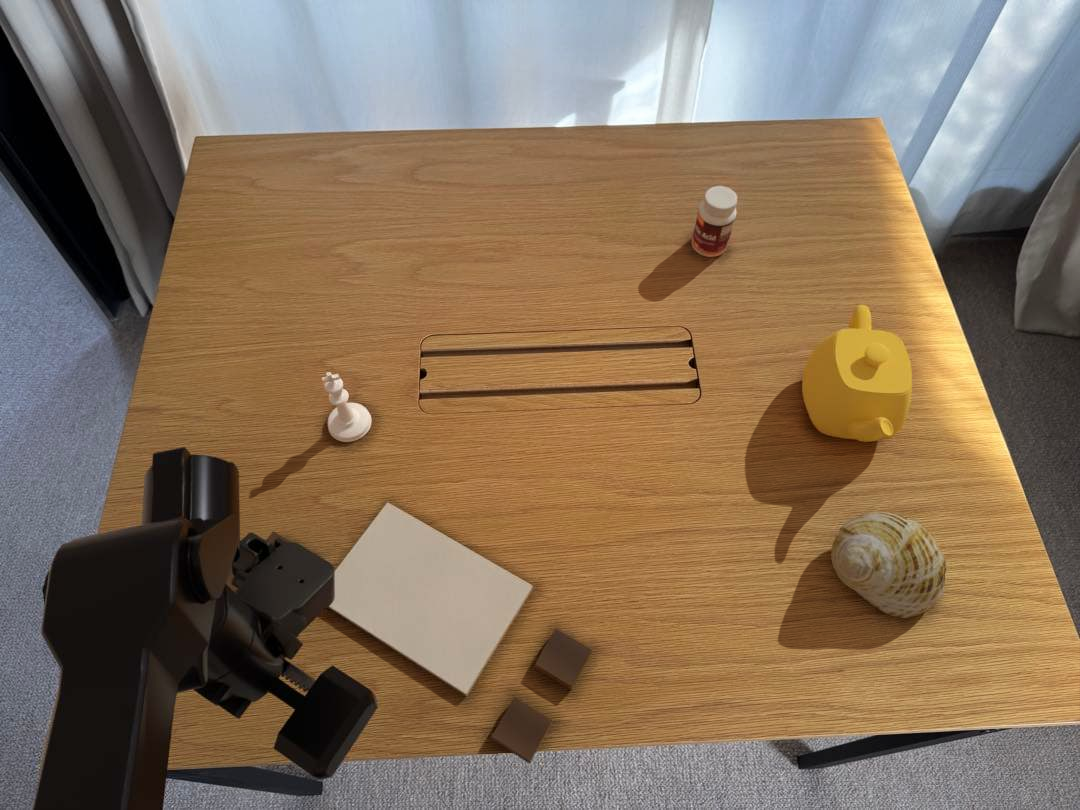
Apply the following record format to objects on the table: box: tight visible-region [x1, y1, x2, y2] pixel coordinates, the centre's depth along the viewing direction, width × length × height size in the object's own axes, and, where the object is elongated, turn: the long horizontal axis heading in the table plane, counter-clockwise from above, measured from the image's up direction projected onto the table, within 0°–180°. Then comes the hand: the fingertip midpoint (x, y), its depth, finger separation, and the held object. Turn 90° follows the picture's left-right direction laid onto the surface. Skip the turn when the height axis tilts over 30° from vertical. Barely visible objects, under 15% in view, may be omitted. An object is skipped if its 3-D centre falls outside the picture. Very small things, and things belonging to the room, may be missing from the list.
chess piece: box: [321, 371, 373, 443], centre depth 83 cm, size 5×5×10 cm
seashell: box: [830, 511, 947, 619], centre depth 75 cm, size 10×10×10 cm
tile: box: [327, 501, 534, 697], centre depth 76 cm, size 12×18×1 cm, turn 59°
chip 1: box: [491, 696, 553, 764], centre depth 69 cm, size 4×4×2 cm
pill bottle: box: [691, 185, 738, 258], centre depth 98 cm, size 5×5×8 cm
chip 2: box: [534, 627, 593, 691], centre depth 73 cm, size 4×4×2 cm
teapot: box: [801, 304, 913, 443], centre depth 83 cm, size 18×11×11 cm, turn 174°
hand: (281, 695), depth 61 cm, fingers open, 9 cm apart
